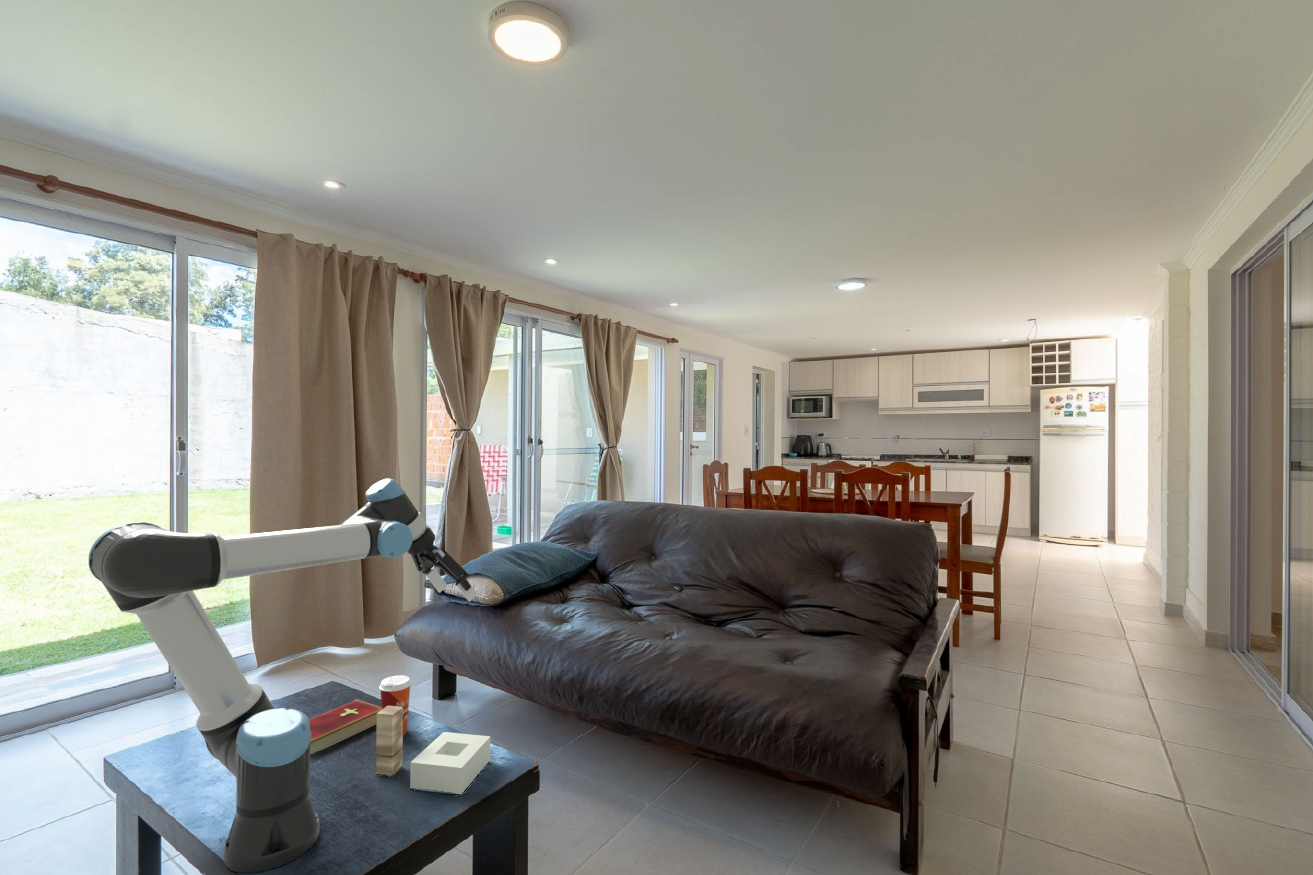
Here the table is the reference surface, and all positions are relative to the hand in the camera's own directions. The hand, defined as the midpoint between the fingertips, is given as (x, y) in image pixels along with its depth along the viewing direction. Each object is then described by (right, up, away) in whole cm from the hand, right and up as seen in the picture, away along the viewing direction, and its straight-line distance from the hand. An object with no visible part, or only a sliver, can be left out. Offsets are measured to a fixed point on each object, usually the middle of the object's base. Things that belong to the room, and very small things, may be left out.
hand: (457, 593), depth 159 cm
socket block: (+6, -36, -22) cm, 42 cm away
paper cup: (-15, -36, -3) cm, 39 cm away
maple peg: (-9, -36, -20) cm, 42 cm away
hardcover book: (-31, -36, -2) cm, 48 cm away
